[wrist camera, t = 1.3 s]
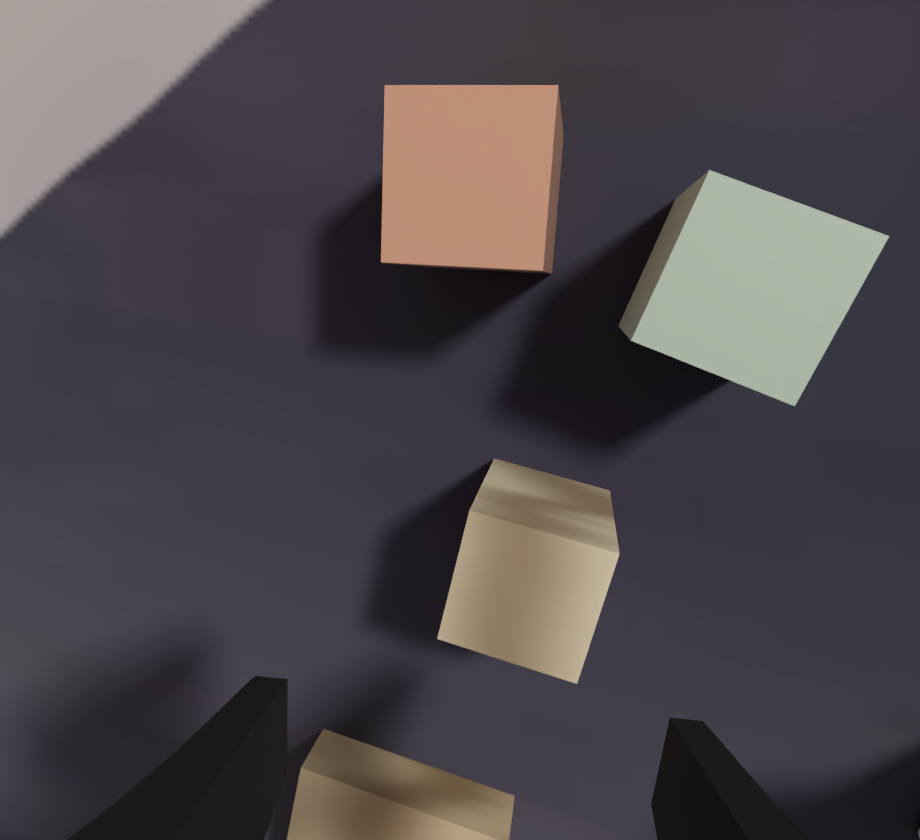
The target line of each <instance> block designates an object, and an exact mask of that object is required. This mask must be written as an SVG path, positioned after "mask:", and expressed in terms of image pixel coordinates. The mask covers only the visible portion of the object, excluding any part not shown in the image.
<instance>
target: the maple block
mask: <svg viewBox="0 0 920 840" xmlns="http://www.w3.org/2000/svg"><path fill="white" fill-rule="evenodd" d="M618 557H619V548H618V541H617V535H616V528H615V521H614V515H613V508H612V502H611V495H610V491H609V490H606V489H602V488H599V487H595V486H591V485H588V484H584V483H581V482H577V481H573V480H570V479H566V478H563V477H559V476H556V475H552V474H548V473H545V472H541V471H538V470H534V469H530V468H527V467H523V466H520V465H516V464H513V463H509V462H505V461H502V460H498V459H495V458H494V460H493V462H492V464H491V466H490V468H489V470H488V472H487V475H486V477H485V479H484V481H483V483H482V485H481V487H480V489H479V491H478V493H477V495H476V498H475V500H474V502H473V504H472V506H471V508H470V510H469V514H468V518H467V522H466V526H465V530H464V534H463V538H462V542H461V546H460V550H459V554H458V558H457V562H456V566H455V570H454V574H453V578H452V582H451V586H450V590H449V594H448V598H447V602H446V606H445V610H444V614H443V618H442V622H441V626H440V630H439V634H438V638H437V639H439V640H442V641H445V642H448V643H451V644H454V645H458V646H461V647H464V648H467V649H470V650H473V651H476V652H479V653H482V654H485V655H489V656H492V657H495V658H498V659H501V660H504V661H507V662H510V663H513V664H517V665H520V666H523V667H526V668H529V669H532V670H535V671H538V672H541V673H545V674H548V675H551V676H554V677H557V678H560V679H563V680H566V681H569V682H573V683H576V684H577V682H578V679H579V676H580V673H581V670H582V667H583V664H584V661H585V658H586V655H587V652H588V649H589V646H590V643H591V639H592V636H593V633H594V630H595V627H596V624H597V621H598V618H599V615H600V612H601V609H602V606H603V603H604V600H605V597H606V594H607V590H608V587H609V584H610V581H611V578H612V575H613V572H614V569H615V566H616V563H617V560H618Z"/></svg>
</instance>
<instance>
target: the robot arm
mask: <svg viewBox="0 0 920 840" xmlns="http://www.w3.org/2000/svg"><path fill="white" fill-rule="evenodd" d="M286 768H287V679H280V678H270V677H260V676H255V677H254V678H253V679H251V680H250V681H249V682H248V683H247V684H246V685H245V686H244V687H243V688H242V689H241V690H240V691H239V692H238V693H237V694H236V695H235V696H234V697H233V698H232V699H231V700H230V701H229V702H228V703H227V704H226V705H224V706H223V707H222V708H221V709H220V710H219V711H218V712H217V713H216V714H215V715H214V716H213V717H212V718H211V719H210V720H209V721H208V722H207V723H206V724H205V725H204V726H203V727H202V728H201V729H200V730H198V731H197V732H196V733H195V734H194V735H193V736H192V737H191V738H190V739H189V740H188V741H186V742H185V743H184V744H183V745H182V746H181V747H180V748H179V749H178V750H177V751H176V752H174V753H173V754H172V755H171V756H170V757H169V758H168V759H167V760H166V761H165V762H163V763H162V764H161V765H160V766H159V767H158V768H156V769H155V770H154V771H153V772H152V773H151V774H149V775H148V776H147V777H146V778H145V779H143V780H142V781H141V782H140V783H139V784H137V785H136V786H135V787H134V788H133V789H131V790H130V791H129V792H128V793H127V794H126V795H124V796H123V797H122V798H121V799H120V800H118V801H117V802H116V803H115V804H113V805H112V806H111V807H110V808H108V809H107V810H106V811H104V812H103V813H102V814H101V815H99V816H98V817H97V818H95V819H94V820H93V821H91V822H90V823H89V824H88V825H86V826H85V827H84V828H82V829H81V830H79V831H78V832H77V833H75V834H74V835H73V836H71V837H70V838H69V839H67V840H263V839H264V836H265V834H266V831H267V829H268V826H269V824H270V821H271V817H272V814H273V811H274V808H275V805H276V802H277V798H278V795H279V792H280V788H281V785H282V782H283V778H284V775H285V772H286ZM651 806H652V811H653V817H654V822H655V828H656V833H657V839H658V840H808V839H807V838H806V837H805V836H804V835H803V834H802V832H801V831H800V830H799V829H798V828H797V827H796V826H795V825H794V824H793V823H792V822H791V821H790V820H789V819H788V817H787V816H786V815H785V814H784V813H783V812H782V811H781V810H780V809H779V808H778V806H777V805H776V804H775V803H774V802H773V801H772V800H771V799H770V798H769V796H768V795H767V794H766V793H765V792H764V791H763V790H762V789H761V787H760V786H759V785H758V784H757V783H756V782H755V781H754V779H753V778H752V777H751V776H750V775H749V774H748V773H747V771H746V770H745V769H744V768H743V767H742V766H741V764H740V763H739V762H738V761H737V760H736V759H735V758H734V756H733V755H732V754H731V753H730V752H729V751H728V749H727V748H726V747H725V746H724V745H723V744H722V742H721V741H720V740H719V739H718V738H717V737H716V735H715V734H714V733H713V732H712V731H711V730H710V729H709V728H708V726H707V725H706V724H705V723H704V722H703V721H696V720H686V719H676V718H670V720H669V724H668V729H667V734H666V738H665V743H664V747H663V752H662V757H661V761H660V766H659V771H658V775H657V780H656V784H655V789H654V794H653V798H652V803H651ZM918 835H919V839H920V829H919V832H918Z"/></svg>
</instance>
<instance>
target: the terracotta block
mask: <svg viewBox="0 0 920 840" xmlns="http://www.w3.org/2000/svg"><path fill="white" fill-rule="evenodd" d="M563 137H564V136H563V127H562V117H561V107H560V98H559V88H558V85H385V99H384V144H383V189H382V234H381V263H391V264H401V265H412V266H422V267H435V268H454V269H473V270H492V271H512V272H531V273H550V274H552V266H553V254H554V243H555V231H556V219H557V207H558V196H559V184H560V172H561V160H562V148H563Z"/></svg>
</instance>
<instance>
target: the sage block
mask: <svg viewBox="0 0 920 840" xmlns="http://www.w3.org/2000/svg"><path fill="white" fill-rule="evenodd" d="M888 238H889V236H887V235H884V234H882V233H879V232H876V231H874V230H871V229H868V228H865V227H863V226H860V225H857V224H855V223H852V222H849V221H846V220H844V219H841V218H838V217H836V216H833V215H830V214H827V213H825V212H822V211H819V210H816V209H814V208H811V207H808V206H806V205H803V204H800V203H797V202H795V201H792V200H789V199H787V198H784V197H781V196H778V195H776V194H773V193H770V192H768V191H765V190H762V189H759V188H757V187H754V186H751V185H748V184H746V183H743V182H740V181H738V180H735V179H732V178H729V177H727V176H724V175H721V174H719V173H716V172H713V171H710V170H709V171H708V172H707V173H706V174H704V175H703V176H702V177H701V178H700V179H699V180H697V181H696V182H695V183H694V184H693V185H692V186H690V187H689V188H688V189H687V190H686V191H684V192H683V193H682V194H681V195H680V196H679V197H677V198H676V199H675V201H674V204H673V206H672V208H671V210H670V212H669V215H668V217H667V219H666V221H665V223H664V226H663V228H662V230H661V232H660V235H659V237H658V239H657V241H656V243H655V246H654V248H653V250H652V252H651V255H650V257H649V259H648V261H647V263H646V266H645V268H644V270H643V272H642V274H641V277H640V279H639V281H638V283H637V286H636V288H635V290H634V292H633V294H632V297H631V299H630V301H629V303H628V306H627V308H626V310H625V312H624V314H623V317H622V319H621V321H620V323H619V325H618V326H619V327H620V328H621V330H622V331H623V332H624V333H625V334H626V336H627V337H628V338H629V339H630V340H631V341H633V342H635V343H638V344H640V345H643V346H645V347H648V348H650V349H653V350H655V351H658V352H660V353H663V354H665V355H668V356H670V357H673V358H675V359H678V360H680V361H683V362H685V363H688V364H690V365H693V366H695V367H698V368H700V369H703V370H705V371H708V372H710V373H713V374H716V375H718V376H721V377H723V378H726V379H728V380H731V381H733V382H736V383H738V384H741V385H743V386H746V387H748V388H751V389H753V390H756V391H758V392H761V393H763V394H766V395H768V396H771V397H773V398H776V399H778V400H781V401H783V402H786V403H788V404H791V405H793V406H795V405H796V403H797V401H798V399H799V398H800V396H801V394H802V392H803V390H804V389H805V387H806V385H807V383H808V381H809V380H810V378H811V376H812V374H813V372H814V371H815V369H816V367H817V365H818V363H819V362H820V360H821V358H822V356H823V354H824V353H825V351H826V349H827V347H828V345H829V344H830V342H831V340H832V338H833V337H834V335H835V333H836V331H837V329H838V328H839V326H840V324H841V322H842V320H843V319H844V317H845V315H846V313H847V311H848V310H849V308H850V306H851V304H852V302H853V301H854V299H855V297H856V295H857V293H858V292H859V290H860V288H861V286H862V284H863V283H864V281H865V279H866V277H867V275H868V274H869V272H870V270H871V268H872V266H873V265H874V263H875V261H876V259H877V257H878V256H879V254H880V252H881V250H882V248H883V247H884V245H885V243H886V241H887V239H888Z"/></svg>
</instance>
